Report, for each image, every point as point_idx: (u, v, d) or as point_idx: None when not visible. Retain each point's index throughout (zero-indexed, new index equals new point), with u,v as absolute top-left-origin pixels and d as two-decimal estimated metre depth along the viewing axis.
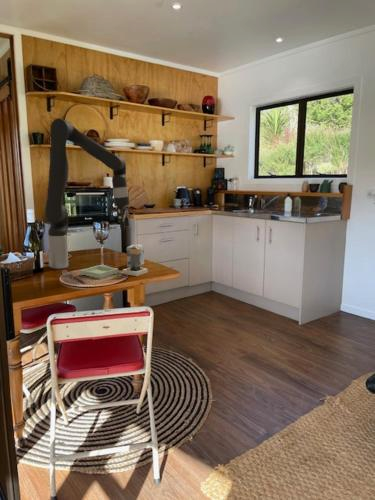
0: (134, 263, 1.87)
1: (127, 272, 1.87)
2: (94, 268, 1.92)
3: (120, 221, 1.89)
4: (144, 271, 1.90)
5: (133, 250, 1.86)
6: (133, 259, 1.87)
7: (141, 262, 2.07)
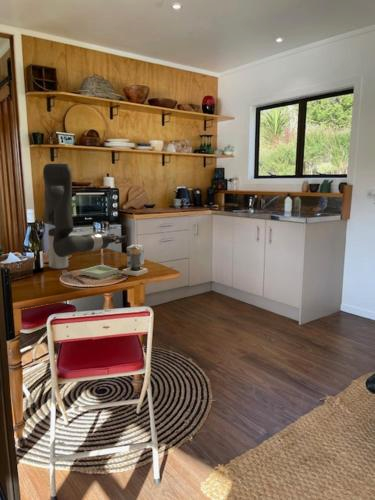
0: (134, 263, 1.87)
1: (127, 272, 1.87)
2: (94, 268, 1.92)
3: None
4: (144, 271, 1.90)
5: (133, 250, 1.86)
6: (133, 259, 1.87)
7: (141, 262, 2.07)
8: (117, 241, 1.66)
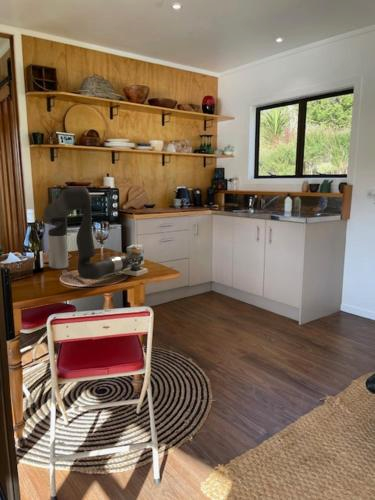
0: None
1: (127, 272, 1.87)
2: None
3: None
4: (144, 271, 1.90)
5: (133, 250, 1.86)
6: None
7: (141, 262, 2.07)
8: (137, 263, 1.80)
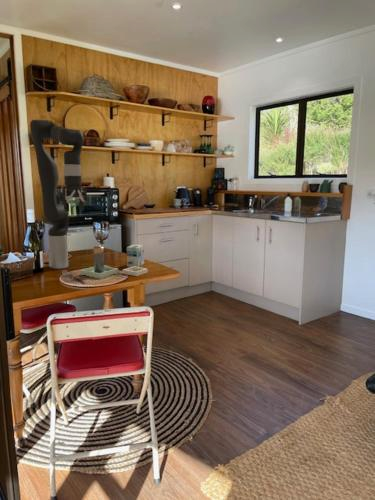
0: (97, 262, 1.83)
1: (127, 272, 1.87)
2: None
3: (63, 202, 1.68)
4: (144, 271, 1.90)
5: (96, 249, 1.82)
6: (96, 258, 1.83)
7: (141, 262, 2.07)
8: None
